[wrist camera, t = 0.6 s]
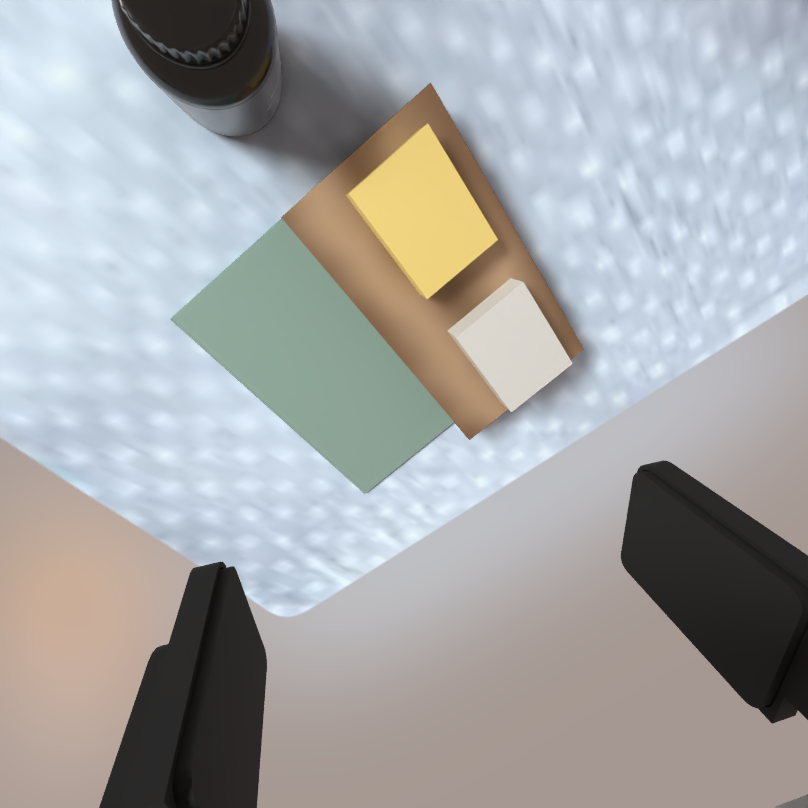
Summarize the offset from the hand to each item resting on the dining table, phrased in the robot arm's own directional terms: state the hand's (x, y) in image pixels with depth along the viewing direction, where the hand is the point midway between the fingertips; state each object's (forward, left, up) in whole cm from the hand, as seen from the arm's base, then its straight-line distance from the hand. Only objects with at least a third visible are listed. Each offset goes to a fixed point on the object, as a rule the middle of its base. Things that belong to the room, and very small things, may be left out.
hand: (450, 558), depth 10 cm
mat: (+4, +3, -27) cm, 27 cm away
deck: (-7, +3, -27) cm, 28 cm away
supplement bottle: (-4, -16, -27) cm, 32 cm away
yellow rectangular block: (-8, -2, -23) cm, 25 cm away
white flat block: (-8, +9, -23) cm, 26 cm away
